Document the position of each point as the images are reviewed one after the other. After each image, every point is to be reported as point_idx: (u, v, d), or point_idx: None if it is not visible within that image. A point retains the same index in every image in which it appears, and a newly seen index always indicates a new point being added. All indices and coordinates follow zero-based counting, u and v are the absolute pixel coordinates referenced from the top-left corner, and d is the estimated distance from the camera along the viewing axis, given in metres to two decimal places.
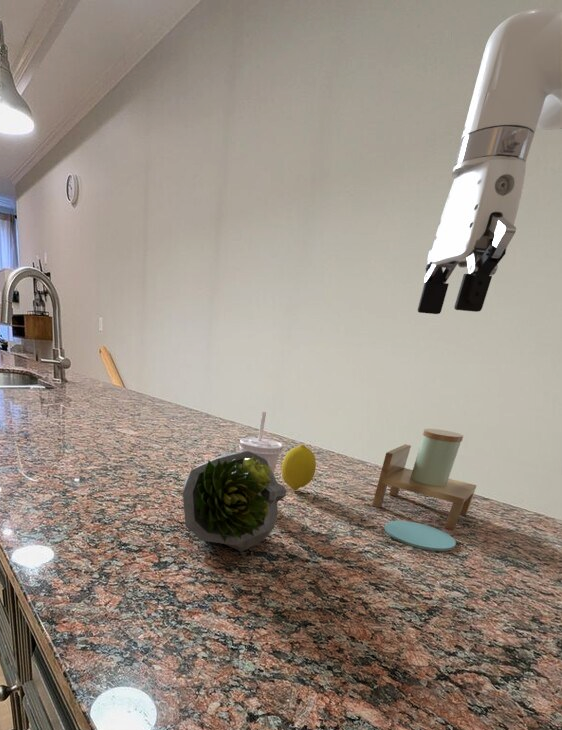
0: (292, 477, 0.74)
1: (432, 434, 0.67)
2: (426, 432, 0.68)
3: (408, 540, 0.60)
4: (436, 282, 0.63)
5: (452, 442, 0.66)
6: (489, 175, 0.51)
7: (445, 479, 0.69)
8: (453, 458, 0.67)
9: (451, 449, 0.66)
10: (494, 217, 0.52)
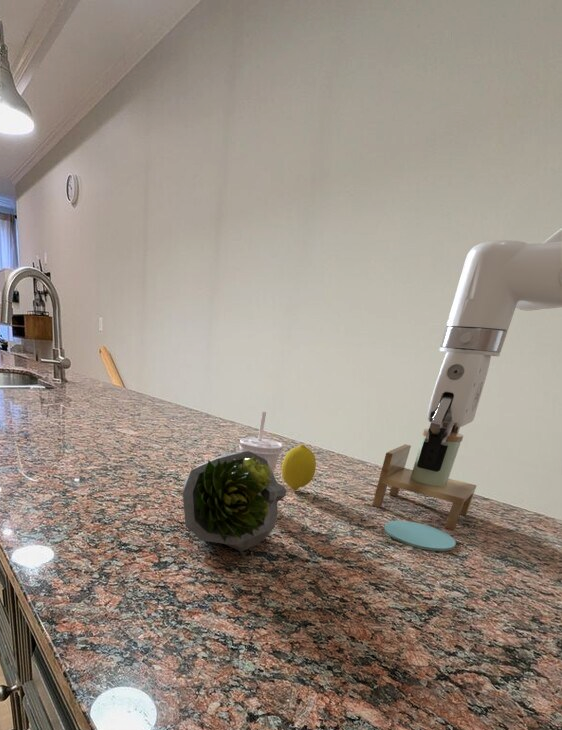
0: (292, 477, 0.74)
1: None
2: (426, 432, 0.68)
3: (408, 540, 0.60)
4: None
5: (452, 442, 0.66)
6: (444, 363, 0.62)
7: (445, 479, 0.69)
8: (453, 458, 0.67)
9: (451, 449, 0.66)
10: (440, 402, 0.63)
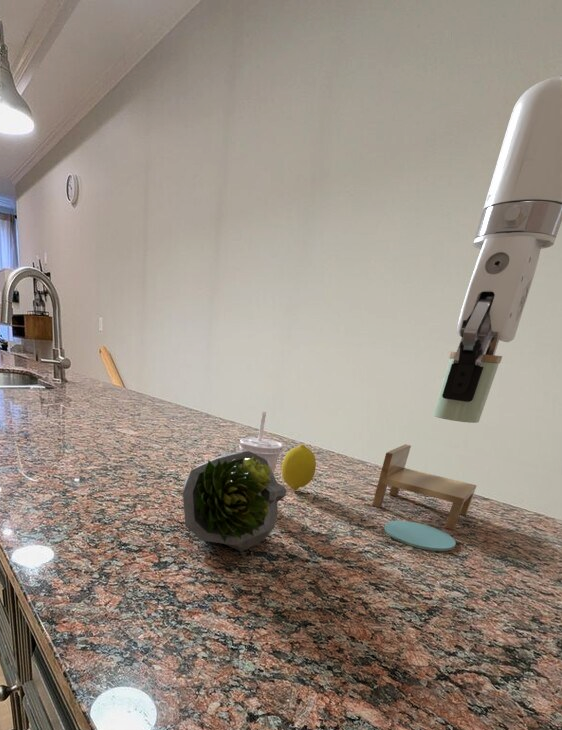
0: (292, 477, 0.74)
1: None
2: (454, 353, 0.54)
3: (408, 540, 0.60)
4: None
5: (488, 363, 0.52)
6: (481, 254, 0.48)
7: (478, 413, 0.54)
8: (489, 385, 0.53)
9: (486, 372, 0.52)
10: (476, 306, 0.48)
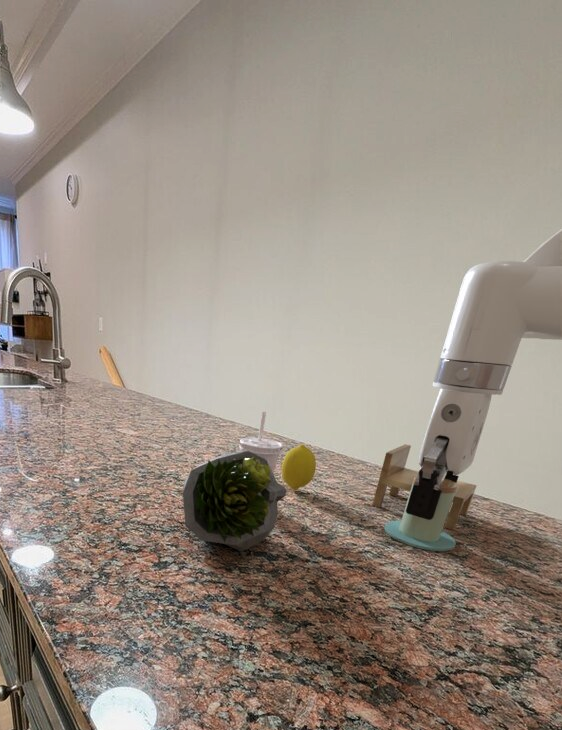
0: (292, 477, 0.74)
1: None
2: None
3: (408, 540, 0.60)
4: None
5: (445, 494, 0.57)
6: (438, 402, 0.54)
7: (438, 534, 0.60)
8: (447, 511, 0.59)
9: (444, 501, 0.58)
10: (435, 441, 0.54)
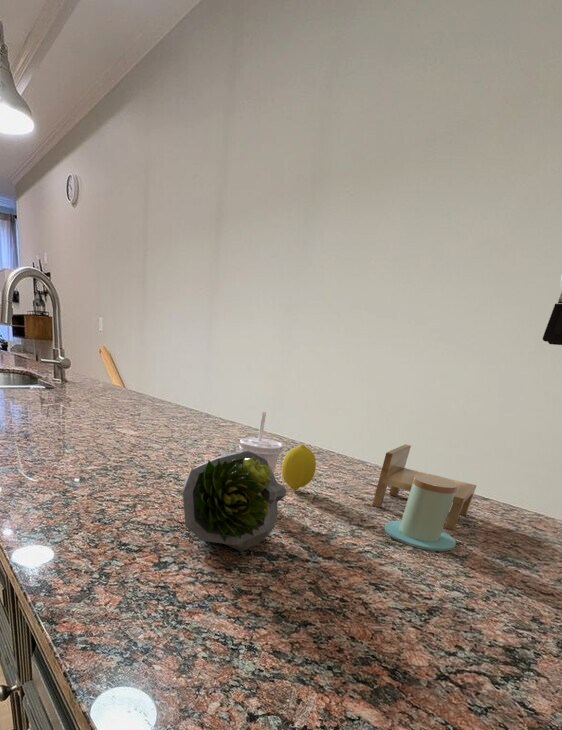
0: (292, 477, 0.74)
1: (423, 484, 0.58)
2: (416, 480, 0.59)
3: (408, 540, 0.60)
4: None
5: (445, 494, 0.57)
6: None
7: (438, 534, 0.60)
8: (447, 511, 0.59)
9: (444, 501, 0.58)
10: None
